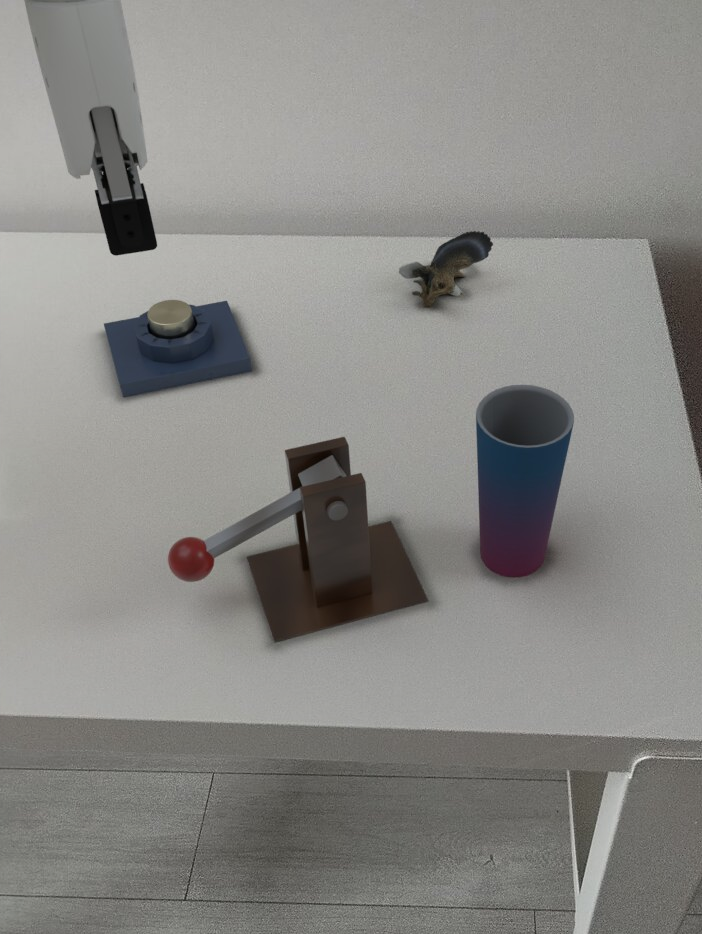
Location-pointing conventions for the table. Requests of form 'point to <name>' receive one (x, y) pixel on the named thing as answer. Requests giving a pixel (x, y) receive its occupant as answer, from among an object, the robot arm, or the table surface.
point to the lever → (244, 527)
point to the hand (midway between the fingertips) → (133, 246)
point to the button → (171, 319)
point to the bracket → (332, 555)
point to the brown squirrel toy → (448, 265)
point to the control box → (177, 351)
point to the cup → (519, 474)
